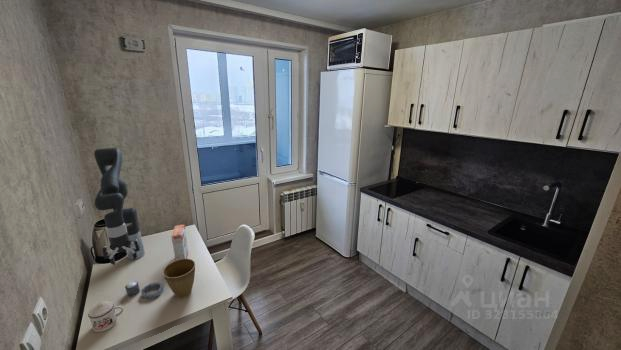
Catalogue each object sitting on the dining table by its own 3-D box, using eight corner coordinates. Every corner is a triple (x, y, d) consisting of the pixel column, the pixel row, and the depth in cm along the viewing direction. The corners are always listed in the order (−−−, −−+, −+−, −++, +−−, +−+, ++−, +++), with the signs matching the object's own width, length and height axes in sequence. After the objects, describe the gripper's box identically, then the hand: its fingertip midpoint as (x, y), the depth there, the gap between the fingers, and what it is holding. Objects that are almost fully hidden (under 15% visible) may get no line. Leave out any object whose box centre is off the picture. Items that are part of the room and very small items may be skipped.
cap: (127, 291, 135) (125, 282, 133) (140, 287, 137) (138, 279, 136) (126, 298, 130) (124, 289, 128) (139, 294, 133) (137, 285, 131)
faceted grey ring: (142, 290, 136) (142, 286, 135) (163, 283, 140) (162, 280, 139) (141, 302, 128) (140, 298, 127) (163, 295, 132) (162, 291, 131)
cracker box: (186, 264, 157) (181, 234, 151) (175, 266, 155) (170, 236, 149) (189, 251, 170) (184, 223, 163) (179, 253, 168) (174, 225, 162)
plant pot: (169, 287, 138) (164, 262, 133) (199, 280, 143) (195, 256, 139) (165, 307, 125) (160, 280, 120) (198, 298, 130) (194, 272, 125)
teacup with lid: (91, 336, 109) (84, 315, 106) (94, 321, 116) (88, 301, 113) (124, 324, 115) (119, 303, 112) (126, 310, 123) (121, 291, 119)
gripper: (135, 225, 128) (141, 253, 133) (100, 232, 121) (108, 261, 126) (134, 232, 122) (141, 261, 127) (97, 240, 115) (105, 270, 120)
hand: (124, 261), depth 126 cm, fingers open, 8 cm apart
